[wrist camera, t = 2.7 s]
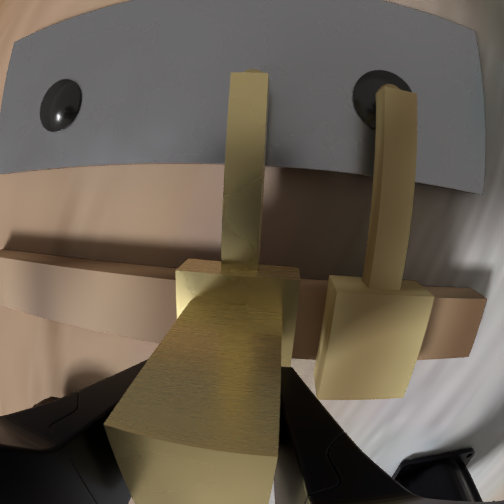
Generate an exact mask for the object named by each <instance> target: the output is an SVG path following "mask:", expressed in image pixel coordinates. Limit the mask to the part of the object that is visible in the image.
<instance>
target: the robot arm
mask: <svg viewBox="0 0 504 504" xmlns="http://www.w3.org/2000/svg"><path fill="white" fill-rule="evenodd" d="M147 361H148V359H147V360H145V361H143V362H141V363H139V364H137V365H135V366H132V367H130V368H128V369H126V370H124V371H122V372H119V373H117V374H115V375H113V376H111V377H108V378H106V379H104V380H102V381H99V382H97V383H95V384H93V385H90V386H88V387H86V388H84V389H81V390H79V391H78V392H74V393H72V394H70V395H67V396H65V397H62V398H60V399H57V400H54V401H52V402H49V403H46V404H43V405H39V406H36V407H33V408H29V409H26V410H23V411H19V412H16V413H12V414H8V415H4V416H0V504H128V503H129V500H130V498H131V494H130V492H129V490H128V487H127V485H126V483H125V480H124V478H123V476H122V473H121V471H120V468H119V466H118V463H117V461H116V458H115V456H114V453H113V450H112V448H111V445H110V442H109V439H108V436H107V434H106V431H105V428H104V425H103V424H104V423H105V421H106V420H107V418H108V417H109V415H110V414H111V412H112V411H113V410H114V408H115V407H116V405H117V404H118V402H119V401H120V399H121V398H122V396H123V395H124V394H125V392H126V391H127V389H128V388H129V386H130V385H131V384H132V382H133V381H134V379H135V378H136V376H137V375H138V373H139V372H140V371H141V369H142V368H143V366H144V365H145V364H146V362H147ZM474 453H475V451H474V449H473V448H468V449H464V450H459V451H455V452H451V453H446V454H441V455H436V456H431V457H426V458H420V459H414V460H407V461H404V462H402V463H401V464H400V465H399V467H398V468H397V470H396V472H395V473H394V475H393V476H392V477H391V476H389V475H388V474H387V473H386V472H385V471H384V470H382V469H381V468H380V467H379V466H378V465H377V464H375V463H374V462H373V461H372V460H371V459H370V458H369V457H368V456H367V455H366V454H365V453H364V452H362V450H361V449H360V448H359V447H358V446H357V445H356V444H355V443H354V442H353V441H352V440H351V438H350V437H349V436H348V435H347V434H346V433H345V432H344V430H343V429H342V428H341V427H340V426H339V424H338V423H337V422H336V421H335V420H334V418H333V417H332V416H331V415H330V414H329V412H328V411H327V410H326V409H325V407H324V406H323V405H322V404H321V403H320V401H319V400H318V399H317V398H316V396H315V395H314V394H313V393H312V392H311V390H310V389H309V388H308V387H307V385H306V384H305V383H304V382H303V380H302V379H301V378H300V377H299V375H298V374H297V373H296V372H295V370H294V369H293V368H292V367H281V388H280V418H279V443H278V459H277V464H276V469H275V474H274V492H275V504H504V500H503V501H496V502H495V501H493V502H483V501H482V499H481V497H480V494H479V492H478V490H477V488H476V486H475V484H474V481H473V479H472V477H471V475H470V473H469V471H468V469H467V467H466V465H467V464H468V462H469V461H470V459H471V458H472V457H473V455H474Z"/></svg>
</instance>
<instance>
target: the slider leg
mask: <svg viewBox="0 0 504 504" xmlns="http://www.w3.org/2000/svg"><path fill="white" fill-rule="evenodd" d="M269 84H270V81H269V74H268V73H263V72H262V71H260V70H257V69H248V70H246V71H244V72H231V76H230V90H229V104H228V119H227V135H226V153H225V172H224V192H223V216H222V243H221V261H212V260H200V259H187V260H186V261H185V262H184V263H183V264H182V265H181V266H180V267H179V268H177V269H176V308H177V320H176V321H175V323H174V324H173V325H172V327H171V328H170V330H169V331H168V332H167V334H166V335H165V337H164V338H163V339H162V341H161V342H160V344H159V345H158V347H157V348H156V349H155V351H154V352H153V354H152V355H151V356H150V358H149V359H148V361H147V362H146V364H145V365H144V366H143V368H142V369H141V371H140V372H139V373H138V375H137V376H136V378H135V379H134V381H133V382H132V384H131V385H130V386H129V388H128V389H127V391H126V392H125V394H124V395H123V396H122V398H121V399H120V401H119V402H118V404H117V405H116V407H115V408H114V410H113V411H112V412H111V414H110V415H109V417H108V418H107V420H106V421H105V423H104V424H103V425H104V428H105V431H106V434H107V436H108V439H109V442H110V445H111V448H112V450H113V453H114V456H115V458H116V461H117V463H118V466H119V468H120V471H121V473H122V476H123V478H124V480H125V483H126V485H127V487H128V490H129V492H130V494H131V496H132V498H133V501H134V503H135V504H268V503H269V498H270V494H271V489H272V484H273V479H274V474H275V469H276V464H277V459H278V443H279V418H280V388H281V367H290V365H291V358H292V350H293V343H294V335H295V327H296V319H297V310H298V302H299V293H300V284H301V279H300V273H299V267H289V266H276V265H262V264H259V259H260V243H261V227H262V210H263V193H264V176H265V159H266V141H267V122H268V104H269Z"/></svg>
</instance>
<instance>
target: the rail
mask: <svg viewBox="0 0 504 504" xmlns="http://www.w3.org/2000/svg"><path fill="white" fill-rule="evenodd" d="M375 101H376V139H375V161H374V177H373V190H372V201H371V212H370V221H369V230H368V239H367V247H366V254H365V261H364V268H363V275H362V277H351V276H336V275H329V280H313V279H301V284H300V293H299V302H298V310H297V319H296V327H295V335H294V343H293V350H292V358H295V359H313V360H316V363H315V369H314V379H315V387H316V395H317V399H320V400H365V399H390V398H403V397H404V394H405V392H406V389H407V386H408V384H409V381H410V378H411V375H412V373H413V370H414V367H415V364H416V361H417V360H426V359H444V358H458V357H469V354H470V352H471V349H472V346H473V343H474V340H475V337H476V334H477V331H478V328H479V325H480V322H481V319H482V315H483V312H484V308H485V305H486V301H487V299H486V298H485V297H484V296H482V295H481V294H479V293H478V292H476V291H475V290H473V289H472V288H456V287H433V286H421V285H420V284H419V283H418V282H417V281H416V280H402V278H403V272H404V267H405V261H406V255H407V248H408V241H409V234H410V227H411V218H412V209H413V199H414V188H415V175H416V157H417V93H412V92H408V91H404V90H400V89H399V88H398V87H397V86H395V85H393V84H385V85H383V86H382V87H381V88H380V89H378V90H377V92H376V94H375ZM176 269H177V268H167V267H157V266H147V265H137V264H127V263H117V262H108V261H98V260H89V259H80V258H71V257H63V256H54V255H45V254H37V253H29V252H21V251H13V250H5V249H2V250H0V305H1V306H4V307H7V308H10V309H14V310H17V311H20V312H24V313H27V314H30V315H34V316H37V317H41V318H45V319H48V320H52V321H56V322H60V323H64V324H68V325H72V326H76V327H80V328H85V329H89V330H93V331H98V332H103V333H107V334H112V335H117V336H122V337H127V338H132V339H138V340H143V341H149V342H155V343H160V342H161V341H162V339H163V338H164V337H165V335H166V334H167V332H168V331H169V330H170V328H171V327H172V325H173V324H174V323H175V321H176V320H177V308H176Z"/></svg>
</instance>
